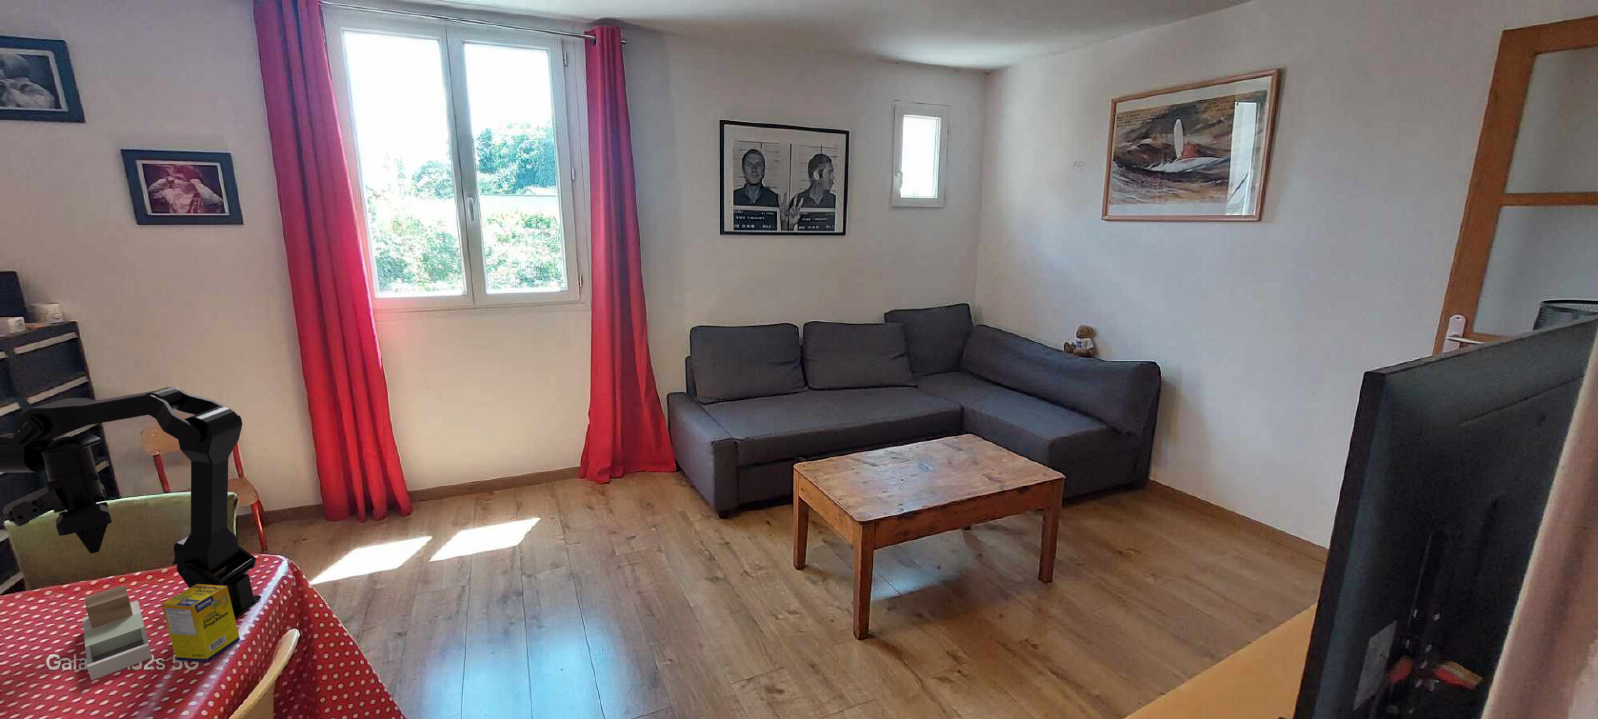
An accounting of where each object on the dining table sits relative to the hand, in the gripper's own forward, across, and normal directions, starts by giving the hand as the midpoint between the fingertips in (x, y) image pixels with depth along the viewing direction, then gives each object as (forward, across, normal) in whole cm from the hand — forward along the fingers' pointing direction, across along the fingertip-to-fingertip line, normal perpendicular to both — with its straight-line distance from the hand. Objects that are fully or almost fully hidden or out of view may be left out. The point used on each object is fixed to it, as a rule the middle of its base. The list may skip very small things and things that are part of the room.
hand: (94, 549), depth 116 cm
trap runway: (+13, +12, 0) cm, 18 cm away
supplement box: (+13, +28, +10) cm, 32 cm away
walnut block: (+10, +7, 0) cm, 13 cm away
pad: (+13, +13, 0) cm, 18 cm away
